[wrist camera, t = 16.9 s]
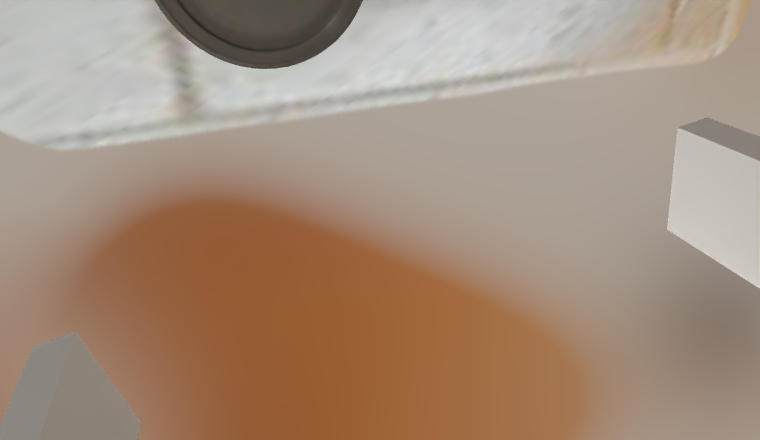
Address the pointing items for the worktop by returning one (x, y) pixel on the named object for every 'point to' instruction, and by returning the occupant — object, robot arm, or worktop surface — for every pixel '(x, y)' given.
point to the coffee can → (261, 28)
